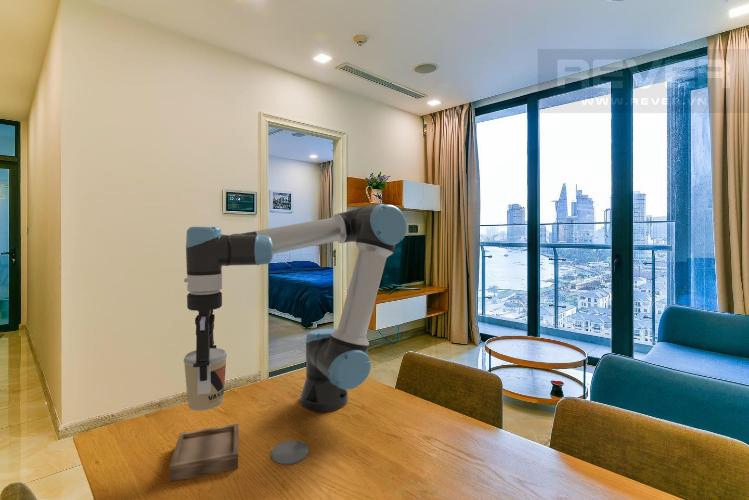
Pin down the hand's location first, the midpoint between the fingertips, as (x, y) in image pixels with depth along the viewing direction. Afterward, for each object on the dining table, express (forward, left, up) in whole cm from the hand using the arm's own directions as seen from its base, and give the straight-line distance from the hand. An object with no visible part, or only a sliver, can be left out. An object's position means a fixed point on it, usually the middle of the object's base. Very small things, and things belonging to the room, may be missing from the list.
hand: (206, 384), depth 88 cm
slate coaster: (-19, +5, -18) cm, 27 cm away
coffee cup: (0, 0, -5) cm, 5 cm away
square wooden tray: (0, 0, -18) cm, 18 cm away
